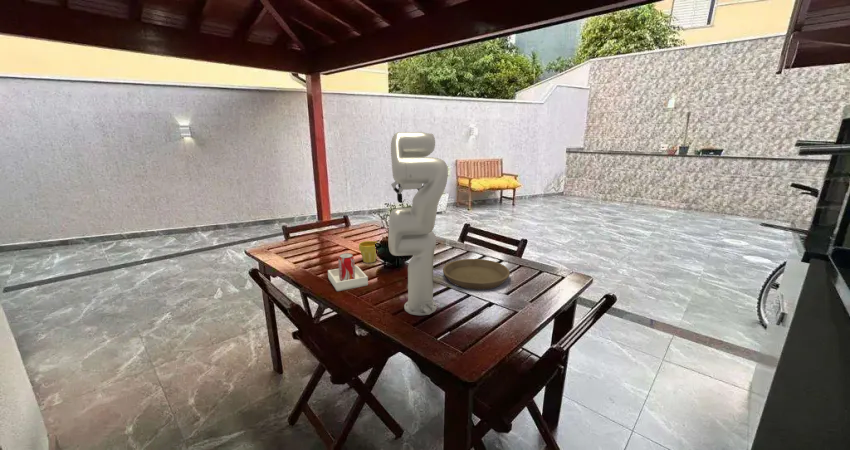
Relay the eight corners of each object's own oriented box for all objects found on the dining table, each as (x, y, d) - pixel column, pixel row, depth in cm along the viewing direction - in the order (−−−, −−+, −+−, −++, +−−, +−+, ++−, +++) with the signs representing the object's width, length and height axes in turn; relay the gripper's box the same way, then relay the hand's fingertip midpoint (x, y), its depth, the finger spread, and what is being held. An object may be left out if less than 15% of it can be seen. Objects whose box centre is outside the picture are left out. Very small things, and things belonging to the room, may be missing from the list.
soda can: (351, 283, 156) (350, 258, 154) (336, 282, 158) (335, 257, 155) (357, 277, 163) (356, 253, 160) (343, 276, 165) (342, 252, 162)
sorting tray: (368, 285, 157) (367, 276, 156) (336, 291, 151) (336, 282, 150) (357, 273, 171) (356, 265, 170) (328, 278, 164) (327, 270, 164)
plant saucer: (432, 284, 159) (432, 274, 158) (456, 263, 186) (456, 254, 185) (500, 297, 146) (500, 287, 145) (515, 272, 173) (515, 263, 172)
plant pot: (358, 258, 191) (357, 241, 189) (377, 256, 194) (376, 239, 192) (361, 265, 182) (360, 247, 179) (380, 263, 185) (380, 245, 182)
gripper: (394, 164, 146) (395, 204, 151) (431, 163, 154) (430, 201, 159) (388, 163, 153) (388, 201, 157) (423, 161, 161) (423, 198, 165)
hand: (409, 201), depth 158 cm, fingers open, 9 cm apart
